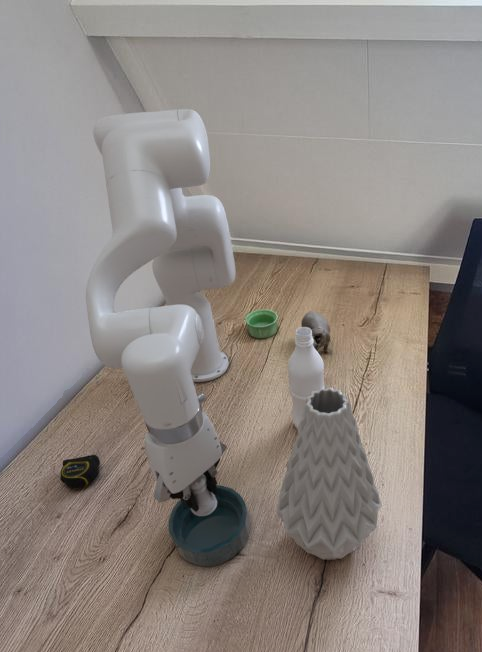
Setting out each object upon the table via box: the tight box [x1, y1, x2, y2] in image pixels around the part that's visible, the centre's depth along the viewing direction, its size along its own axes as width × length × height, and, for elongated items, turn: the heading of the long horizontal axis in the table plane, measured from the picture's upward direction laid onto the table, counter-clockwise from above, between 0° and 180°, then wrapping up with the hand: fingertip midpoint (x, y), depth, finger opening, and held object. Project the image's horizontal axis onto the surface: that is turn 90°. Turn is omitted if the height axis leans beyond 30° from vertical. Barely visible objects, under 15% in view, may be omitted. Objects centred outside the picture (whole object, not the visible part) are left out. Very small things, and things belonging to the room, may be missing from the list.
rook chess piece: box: [189, 474, 217, 516], centre depth 73 cm, size 4×4×8 cm
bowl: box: [168, 484, 251, 567], centre depth 80 cm, size 13×13×5 cm
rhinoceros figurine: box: [300, 310, 331, 354], centre depth 118 cm, size 8×14×15 cm
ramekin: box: [244, 308, 279, 339], centre depth 127 cm, size 9×9×4 cm
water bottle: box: [287, 326, 325, 430], centre depth 91 cm, size 7×7×25 cm
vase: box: [276, 386, 382, 561], centre depth 69 cm, size 17×17×33 cm
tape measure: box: [59, 454, 101, 490], centre depth 91 cm, size 7×7×4 cm
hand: (201, 497), depth 74 cm, fingers closed on rook chess piece, 3 cm apart
